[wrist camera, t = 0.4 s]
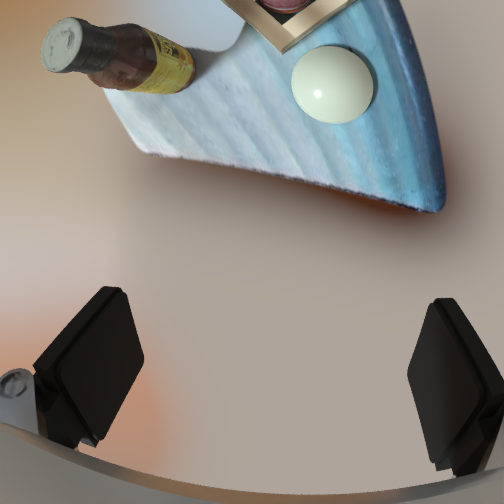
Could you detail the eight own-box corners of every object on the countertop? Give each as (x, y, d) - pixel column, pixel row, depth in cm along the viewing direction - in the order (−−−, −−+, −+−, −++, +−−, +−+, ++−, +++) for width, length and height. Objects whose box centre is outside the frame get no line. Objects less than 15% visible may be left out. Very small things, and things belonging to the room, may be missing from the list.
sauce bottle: (208, 59, 31) (122, 14, 13) (180, 104, 34) (76, 104, 16) (163, 38, 30) (57, -6, 12) (138, 81, 33) (20, 74, 15)
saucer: (333, 33, 28) (334, 31, 27) (386, 93, 30) (389, 92, 29) (274, 80, 31) (273, 79, 31) (328, 139, 34) (329, 140, 33)
